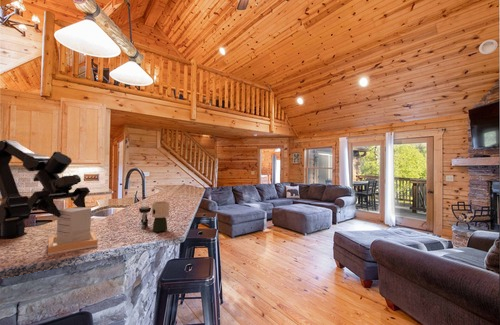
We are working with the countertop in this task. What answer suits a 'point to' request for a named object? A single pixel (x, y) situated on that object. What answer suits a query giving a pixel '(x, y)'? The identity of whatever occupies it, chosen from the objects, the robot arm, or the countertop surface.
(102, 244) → the countertop surface
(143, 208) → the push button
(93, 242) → the shallow wooden tray
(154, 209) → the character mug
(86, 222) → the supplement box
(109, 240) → the countertop surface
